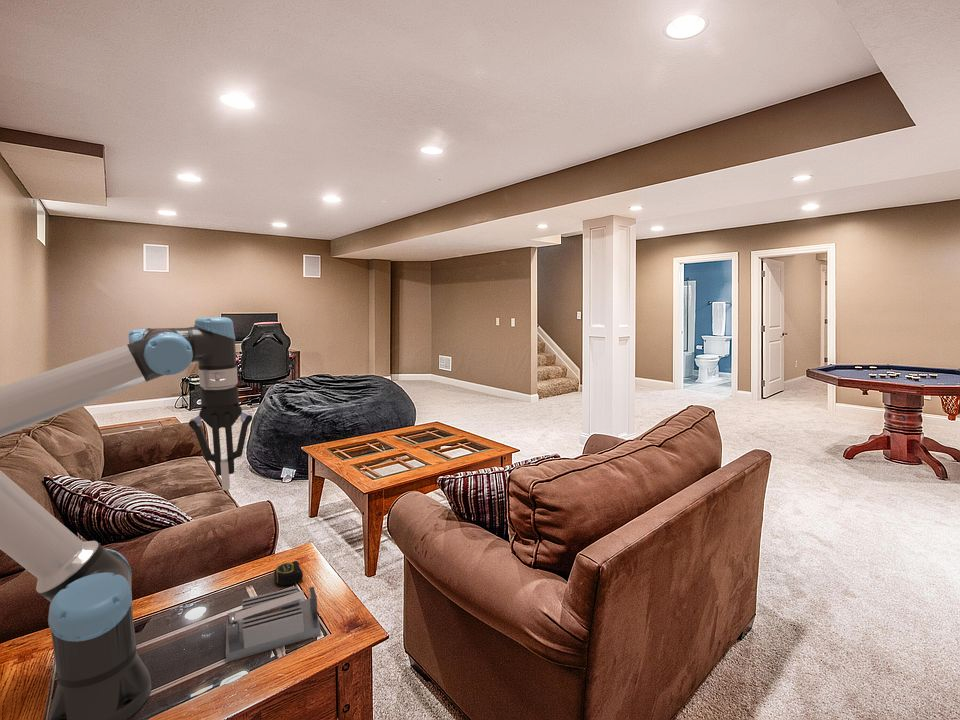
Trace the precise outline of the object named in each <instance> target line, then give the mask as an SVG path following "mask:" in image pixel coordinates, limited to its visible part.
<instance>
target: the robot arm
mask: <svg viewBox="0 0 960 720" xmlns="http://www.w3.org/2000/svg"><path fill="white" fill-rule="evenodd" d="M236 354H237V352H236V335H235V328H234V322H233V320H232V319H231V318H229V317H225V316H222V317H221V316H219V317H218V316H217V317H215V316H213V317H212V316H211V317H210V316H209V317H198V318H195V320H194V326H190V327H166V328H165V327H164V328H162V327H161V328H160V327H159V328H157V327H156V328H149V327H146V328H141V329H140V328H139V329H132V330H130V331H129V332H128V344H125V345H122V346H118V347H116V348H115V347H114V348H112V349H110V350H106V351H103V352H99V353H97V354H94V355H92V356H88V357H86V358H85V357H84V358H83V359H80V360H76V361H74V362H71V363H67V364H65V365H62V366H59V367H56V368H53V369H49V370H46V371H44V372H41V373H38V374H35V375H31V376H29V377H25V378H22V379H20V380H17V381H13V382H10V383H8V384H5V385H1V386H0V438H2V437H3V436H7V435H9V434H13V433H15V432H17V431H20V430H23V429H25V428H26V429H27V428H28V427H31V426H33V425H35V424H39V423H41V422H44V421H46V420H49V419H51V418H54V417H56V416H60V415H62V414H64V413H67V412H70V411H72V410H76V409H78V408H80V407H83V406H86V405H89V404H91V403H94V402H96V401H99V400H102V399H104V398H107V397H109V396H113V395H115V394H116V393H117V394H118V393H120V392H123V391H126V390H128V389H130V388H133V387H136V386H139V385H141V384H143V383H146V382H150V381H153V380H155V379H159V378H160V377H164V376H174V375H178V374H180V373H182V372H184V371H185V370H187V369H188V367H189V366H190V365H191V363H195V362H197V364H198V377H199V379H198V380H199V386H200V387H201V389H200V391H199V394H200V407H201V408H200V410H199V413H198V415H197V416H195V417H194V418H191V419H190V420H189V422H188V425H189V427H190V428H191V429H192V430H193V431H194V432H195V436H196V438H197V441H198V444H199V446H200V448H201V453H202V454H203V457H204V460H205V461H206V462H212V463H214V470H215V472H214V473H215V475H216V476H217V477H218V476H221V491H229V490H231V479H230V475H234V473H235V460H236V459H237V458H241V457H242V456H243V452H244V446H245V441H246V436H247V432H248V427H249V424H251V421H252V420H253V414H252V413H248V412H246V411H244V410H243V409H242V407H241V405H240V397H239V387H238V386H237V384H238V383H239V381H238V369H237V368H238V366H237V355H236ZM239 417H240V421H241V422H242V423H241V427H240V428H241V429H240V432H239V436H238V441H237V446H236V450H235V451H234V442H233V428H232V427H233V425H235V423H236V421H237V420H238V419H239ZM203 422H204V423H206V425H207V426H208V427H210V428H211V431H212V432H211V433H212V443H213V444H212V445H213V453H212V451H211V449H210V445H209V444H208V441H207V437H206V435H205V432H204V430H203V427H202V425H203ZM221 428H223V429H224V430H225V444H226V458H222V453H221V451H222V450H221V437H220V429H221ZM216 476H215V477H216ZM0 550H1V551H2V552H3V553H4V554H6V555H7V556H8V557H10V559H12V560H13V561H15V562H16V563H17V564H18V565H20V566H21V567H23V568H24V569H25V570H26V571H28V572H29V573H30V575H31V574H32V576H34V577H36V578H37V582H36V588H35V591H36V592H37V593H38V594H40V595H41V596H42V597H43V598H44V599H46V600H47V601H49V602H50V604H49V609H48V615H47V617H48V618H47V622H48V627H49V629H50V631H51V632H50V633H51V641H52V647H53V649H52V650H53V657H54V664H55V672H56V679H57V686H56V688H55V691H54V695H53V699H52V702H51V706H50V709H49V713H48V720H129V719H130V718H131V717H132V716H133V715H135V714H136V713H137V712H138V711H139V710H140V709H141V708H142V707H143V706H144V704H146V702H147V700H148V699H149V697H150V695H151V692H152V680H151V679H152V678H151V675H150V671H149V669H148V668H147V666H146V665H145V663H144V662H143V660H142V659H141V657H140V655H139V654H138V652H137V651H138V650H137V644H136V634H135V633H136V632H135V623H134V613H133V611H134V610H133V601H132V600H133V593H132V578H133V577H132V576H133V575H132V569H131V567H130V564H129V561H127V559H126V558H125V556H124V555H123V554H121V553H120V552H119V551H118V550H117V551H116V550H113V549H111V548H106V547H105V548H104V547H103V545H101V544H100V543H99V542H98V541H97V540H89V541H88V540H86V541H83V540H81V539H80V538H79V537H78V536H77V535H76V534H74V533H73V532H72V531H71V530H70V529H69V528H68V527H66V526H65V525H64V524H63V523H62V522H60V520H58V519H57V518H56V517H55V516H54V515H52V514H51V513H50V512H49V511H48V510H47V509H46V508H45V507H43V506H42V505H41V504H40V503H38V501H36V500H35V499H34V497H32V496H30V495H29V494H28V493H27V492H26V491H25V490H24V489H22V488H21V487H20V486H19V485H18V484H16V482H14V481H13V480H12V479H11V478H10V477H9V476H8V475H7V474H5V473H4V472H3V471H2V470H0Z"/></svg>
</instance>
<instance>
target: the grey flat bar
mask: <svg viewBox="0 0 960 720" xmlns="http://www.w3.org/2000/svg"><path fill="white" fill-rule="evenodd" d="M305 600H306V598H305V593H304V590H300V591H299V590H298V592H296V593H293V594H290V595H287V596H284V597H281V598H278V599H275V600H272V601H269V602H266V603H263V604H260V605H257V606H254V607H251V608H248V609H245V610H243V609H241V610H239V611H238V612H236V613H234V612H235V611H232V612H233V613H231V612H230V613H231V614H230V615H229V625H232V624H236V623H241V622H243V620H247V619H251V618H255V617H258V616H261V615H264V614H267V613H270V612H273V611H276V610H278V609H281V608H284V607H287V606H290V605H293V604H296V603H299V602H302V601H305Z"/></svg>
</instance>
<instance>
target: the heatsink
mask: <svg viewBox="0 0 960 720" xmlns="http://www.w3.org/2000/svg"><path fill="white" fill-rule="evenodd" d="M298 588H299V587H298V586H292V587H289V588H285V589H281V590H276V591H274V592H273V591H271V592H268V593H265V594H260V595H256V596H251V597H248V598H243V599H242V605H241V606H242V609H241V610H245V609H248V608H251V607H254V606H257V605H260V604H263V603H266V602H269V601H272V600H275V599H278V598H281V597H284V596H287V595H290V594H293V593H296V592H299V589H298ZM308 590H309V591H308V592H309V598H307V599H306V598H305V601H302V602H299V603H296V604H293V605H290V606H287V607H284V608H281V609H278V610H276V611H273V612H270V613H267V614H264V615H261V616H258V617H255V618H251V619H247V620H243V622H241V623H236V624H232V625H229V615H230V614H231V613H233V612H234V613H236V612H239V611H238V610H236V611H232V612H228V613H227V619H226V624H225V626H226V631H225V662H226V663H230V662H234V661H237V660H241V659H244V658H247V657H250V656H254V655H257V654H260V653H264V652H268V651H271V650H273V649H274V650H275V649H278V648H282V647H284V646H288V645H292V644H295V643H299V642H301V641H306V640H309V639H312V638H317V637H319V636H321V633H322V631H321V629H322V628H321V625H320V624H321V623H320V620H319V617H318V598H317V594H316V591H315V587H314V586H309V587H308Z"/></svg>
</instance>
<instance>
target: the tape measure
mask: <svg viewBox="0 0 960 720" xmlns="http://www.w3.org/2000/svg"><path fill="white" fill-rule="evenodd" d="M300 565H301V564H300V562H298V560H294V561H291V562H285V563H281V564H280V565H278V566H277V567H276V568H275V570H274V573H273V574H274V575H273V577H274V581H275V583H277V584H278V585H281V586H290V585H293V584H294V583H297V582H300V581H301V580H303V577H304V572H303V571H302V569H301V566H300Z"/></svg>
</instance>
